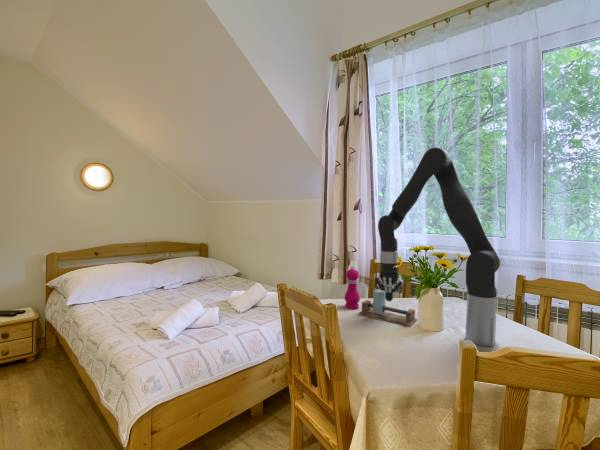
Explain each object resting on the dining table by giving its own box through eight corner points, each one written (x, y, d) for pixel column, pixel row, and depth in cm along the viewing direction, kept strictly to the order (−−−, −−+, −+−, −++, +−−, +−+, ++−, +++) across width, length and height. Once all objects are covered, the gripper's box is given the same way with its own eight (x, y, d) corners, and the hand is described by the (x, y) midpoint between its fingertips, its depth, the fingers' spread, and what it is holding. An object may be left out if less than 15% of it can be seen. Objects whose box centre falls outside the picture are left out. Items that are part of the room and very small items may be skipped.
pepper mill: (360, 309, 152) (361, 267, 150) (345, 309, 152) (345, 267, 151) (358, 305, 159) (359, 264, 158) (343, 304, 159) (344, 264, 158)
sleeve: (385, 312, 144) (385, 291, 144) (381, 314, 141) (382, 293, 140) (376, 310, 147) (377, 290, 146) (373, 312, 143) (373, 291, 143)
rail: (416, 321, 138) (417, 308, 137) (410, 326, 131) (410, 313, 131) (367, 310, 152) (367, 298, 151) (359, 314, 145) (359, 302, 145)
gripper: (407, 261, 139) (407, 301, 140) (378, 258, 147) (378, 296, 148) (400, 263, 133) (400, 305, 134) (371, 261, 141) (371, 300, 142)
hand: (389, 300), depth 141 cm, fingers closed
